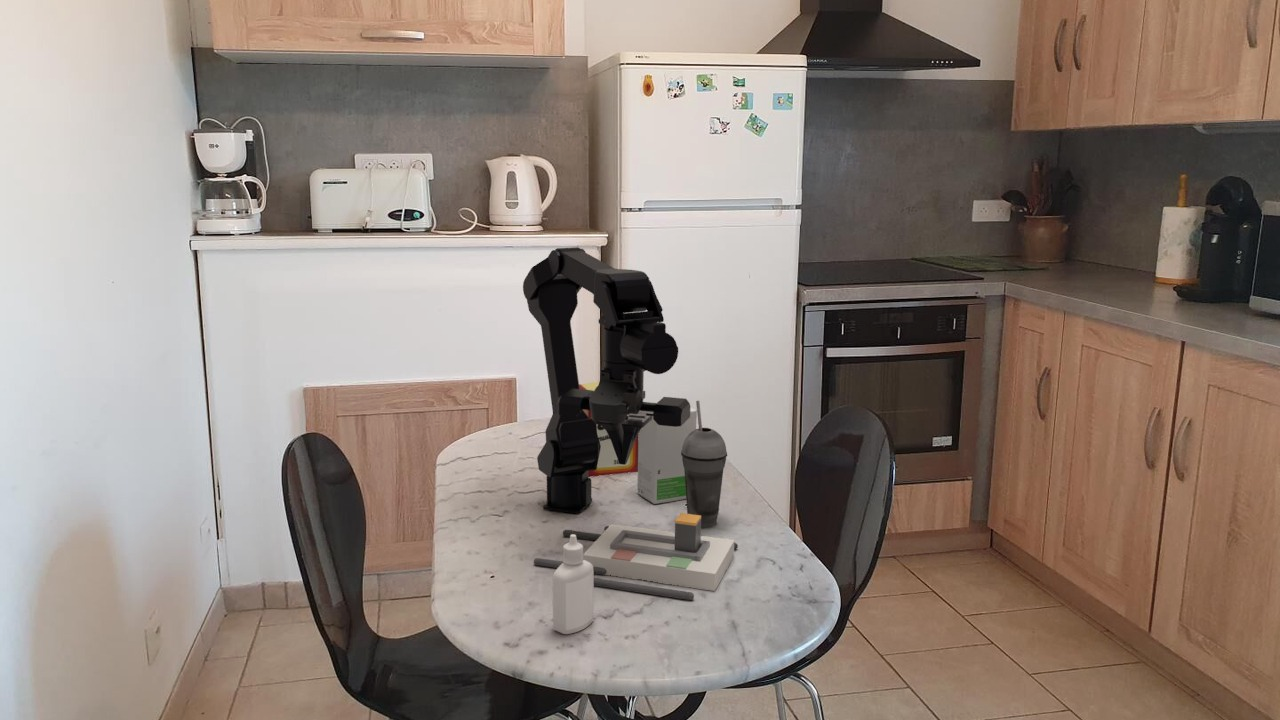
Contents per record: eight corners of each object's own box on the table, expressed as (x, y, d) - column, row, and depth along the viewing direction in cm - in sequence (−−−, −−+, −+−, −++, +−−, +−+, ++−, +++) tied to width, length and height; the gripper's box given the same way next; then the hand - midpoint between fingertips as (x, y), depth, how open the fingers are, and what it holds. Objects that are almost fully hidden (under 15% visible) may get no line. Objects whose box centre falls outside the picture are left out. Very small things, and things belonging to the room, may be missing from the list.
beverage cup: (722, 533, 151) (726, 408, 147) (676, 529, 152) (678, 405, 148) (727, 516, 158) (731, 396, 154) (683, 512, 159) (685, 394, 155)
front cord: (522, 575, 136) (522, 569, 135) (535, 562, 140) (535, 556, 140) (692, 601, 128) (693, 594, 128) (701, 587, 133) (701, 580, 132)
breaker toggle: (674, 553, 137) (675, 520, 136) (680, 545, 140) (680, 512, 139) (695, 556, 136) (695, 523, 135) (700, 547, 139) (701, 515, 138)
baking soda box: (626, 460, 185) (627, 378, 182) (638, 471, 179) (638, 387, 176) (578, 465, 182) (578, 382, 179) (588, 476, 176) (588, 390, 173)
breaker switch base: (583, 571, 137) (582, 550, 137) (611, 539, 148) (611, 519, 148) (714, 591, 132) (715, 569, 131) (733, 556, 143) (734, 535, 142)
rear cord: (561, 536, 149) (561, 530, 149) (572, 526, 153) (572, 520, 153) (731, 560, 141) (731, 553, 141) (738, 548, 146) (738, 542, 145)
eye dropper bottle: (600, 629, 121) (600, 539, 118) (556, 637, 119) (556, 545, 116) (589, 614, 125) (589, 526, 122) (547, 621, 123) (546, 531, 120)
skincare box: (653, 505, 162) (654, 415, 159) (635, 493, 168) (635, 405, 165) (696, 497, 166) (698, 409, 163) (677, 485, 172) (679, 400, 169)
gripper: (541, 366, 135) (542, 474, 138) (671, 377, 129) (669, 489, 133) (570, 350, 145) (571, 451, 149) (692, 360, 140) (690, 464, 143)
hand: (623, 463), depth 143 cm, fingers closed
